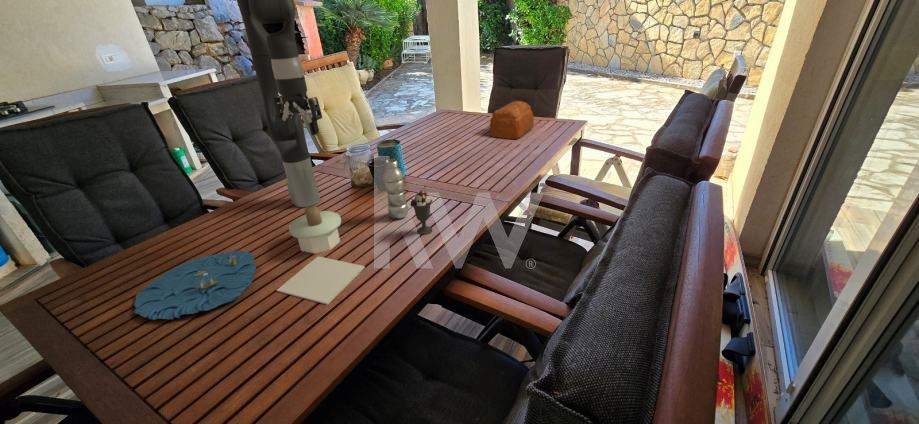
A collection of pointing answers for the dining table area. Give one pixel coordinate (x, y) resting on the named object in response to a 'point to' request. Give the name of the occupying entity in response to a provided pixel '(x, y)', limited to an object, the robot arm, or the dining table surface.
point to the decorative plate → (197, 285)
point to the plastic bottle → (395, 190)
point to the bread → (511, 121)
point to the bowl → (320, 242)
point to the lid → (314, 223)
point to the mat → (321, 280)
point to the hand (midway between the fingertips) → (303, 133)
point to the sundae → (422, 211)
